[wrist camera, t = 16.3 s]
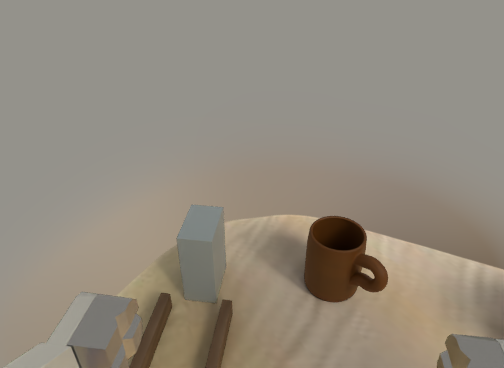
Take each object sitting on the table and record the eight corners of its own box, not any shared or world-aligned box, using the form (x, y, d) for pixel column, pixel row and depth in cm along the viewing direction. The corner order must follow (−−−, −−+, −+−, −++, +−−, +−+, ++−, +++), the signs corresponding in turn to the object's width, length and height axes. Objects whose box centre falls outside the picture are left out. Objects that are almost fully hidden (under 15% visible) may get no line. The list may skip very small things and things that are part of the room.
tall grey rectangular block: (226, 266, 60) (223, 207, 54) (216, 303, 54) (211, 241, 48) (197, 263, 60) (191, 204, 54) (184, 299, 54) (176, 238, 48)
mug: (394, 307, 53) (410, 256, 48) (356, 337, 50) (368, 284, 44) (329, 257, 61) (336, 208, 56) (292, 279, 58) (296, 228, 52)
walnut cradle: (232, 313, 52) (231, 300, 51) (205, 436, 40) (203, 424, 38) (163, 305, 54) (161, 292, 52) (115, 423, 41) (111, 410, 40)
